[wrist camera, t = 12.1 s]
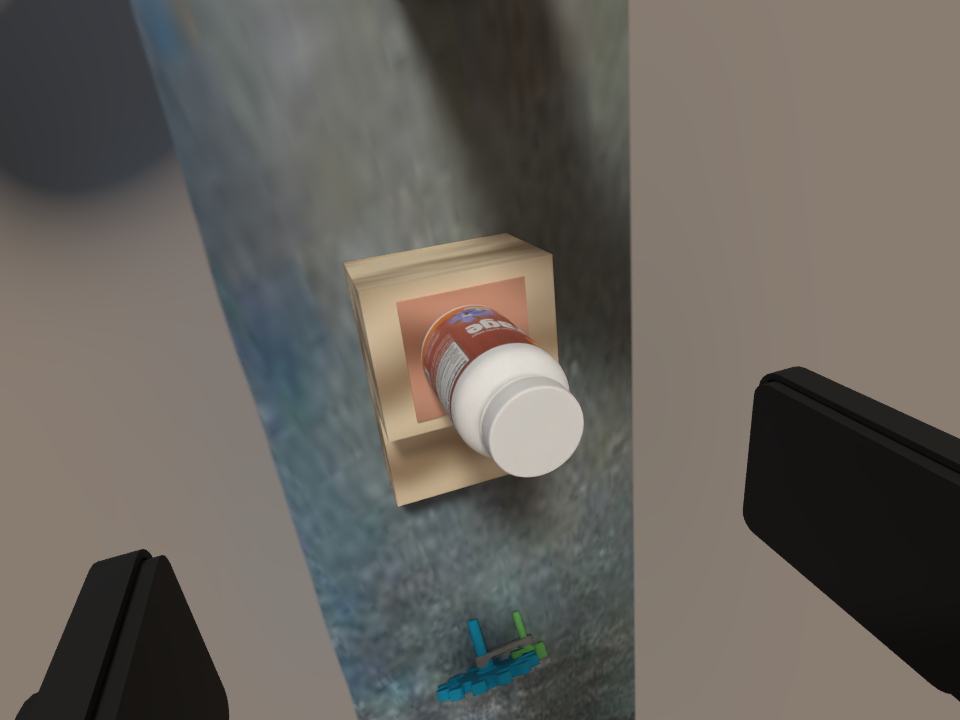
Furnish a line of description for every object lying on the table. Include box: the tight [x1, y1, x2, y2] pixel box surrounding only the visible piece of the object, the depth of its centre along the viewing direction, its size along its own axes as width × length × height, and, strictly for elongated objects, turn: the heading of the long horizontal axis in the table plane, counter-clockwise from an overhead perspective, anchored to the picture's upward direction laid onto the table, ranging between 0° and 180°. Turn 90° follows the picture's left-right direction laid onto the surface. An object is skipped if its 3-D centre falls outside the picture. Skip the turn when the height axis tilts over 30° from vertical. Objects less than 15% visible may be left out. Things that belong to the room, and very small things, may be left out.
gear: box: [436, 611, 548, 702], centre depth 54 cm, size 11×6×10 cm
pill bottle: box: [421, 305, 584, 477], centre depth 31 cm, size 6×6×11 cm
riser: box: [344, 233, 559, 507], centre depth 41 cm, size 18×12×8 cm, turn 7°
